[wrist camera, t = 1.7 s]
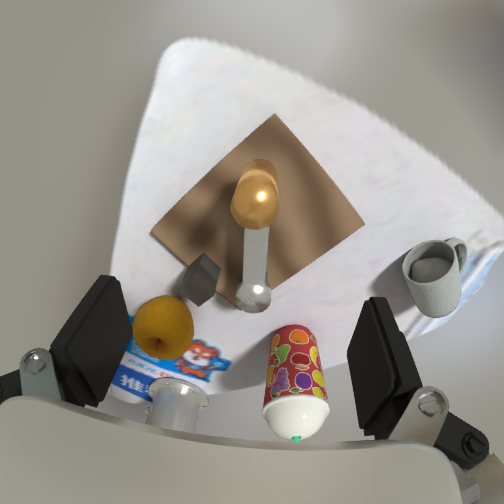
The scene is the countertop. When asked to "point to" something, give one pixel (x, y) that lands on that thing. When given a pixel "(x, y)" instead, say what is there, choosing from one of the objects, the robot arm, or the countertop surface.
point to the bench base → (280, 231)
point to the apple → (164, 328)
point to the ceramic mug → (435, 275)
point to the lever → (255, 231)
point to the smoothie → (295, 385)
